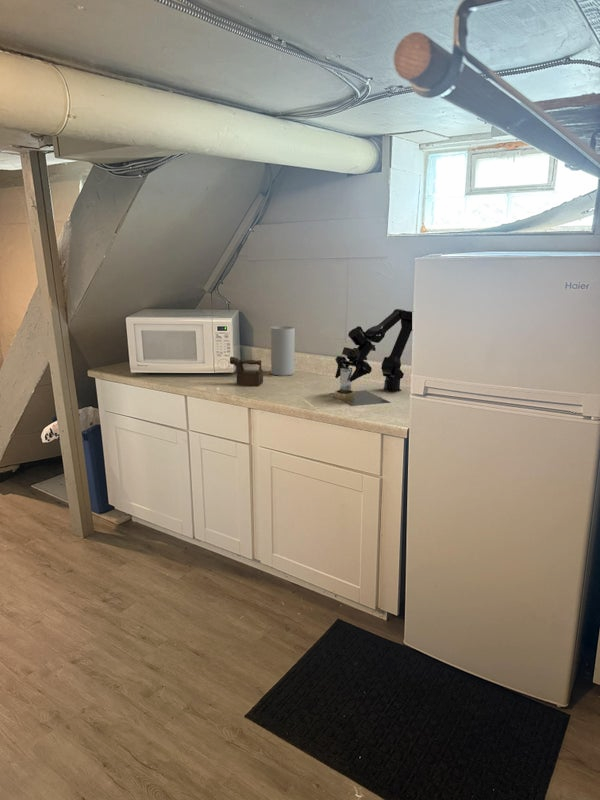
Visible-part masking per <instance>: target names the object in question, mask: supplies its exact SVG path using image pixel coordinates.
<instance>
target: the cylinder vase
mask: <svg viewBox="0 0 600 800" xmlns="http://www.w3.org/2000/svg"><path fill="white" fill-rule="evenodd" d="M295 333H296V332H295V327H294V326H287V325H286V326H285V325H284V326H283V325H281V326H280V325H279V326H277V325H276V326H271V327H270V338H271V339H270V347H271V348H270V372H271V373H270V374H272V375H273V376H276V375H278V376H279V377H288V375H289V376H292V375H294V374H295V343H296V341H295V340H296V339H295V335H296V334H295Z"/></svg>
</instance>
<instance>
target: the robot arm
mask: <svg viewBox="0 0 600 800" xmlns="http://www.w3.org/2000/svg"><path fill="white" fill-rule="evenodd" d="M399 322H400V330H399V333H398V335H397V337H396V340H395V343H394V344H393V348H392V350H391V352H390V355H389V356H384V358H383V361H382V362H381V367H380V369H381V373H382V376H383V377H385V378H384V383H383V385H384V387H383V389H384V390H385V391H388V392H399V391H402V389H401V386H400V385H401V379H403V378H404V375H405V373H404V372H403V370H401V366H402V362H401V358H402V355H403V352H404V350H405V348H406V345H407V343H408V340H409V338H410V336H411V333H412V331H413V330H412V310H411V311H410V310H404V309H401V308H400V309H399V308H396V309H394V310H393V311H392V313H390V314H389V315H388V316H386V317H385V319H383V320H382V321H381V322H379V323H378V324H377V325H373V326H371V327H369V328H368V329H367V330H366V331H364V330H363V327H362V326H360V325H357V326H356V327H355V328H353V329H351V330H349V332H348V336H347V337H349V339H350V340H351V341H352V342H353V344H354V345H355V346H357V347H353V348H351V347H350V348H349V347H346V346H344V347H343V350H342V352H341V355H337V356H336V357H335V359H334V360H335V362H336V364H337V368H336V373H335V379H338V378H340V374H341V367H349V368H350V367H354V368H355V370H354V372H352V376H351V378H350V380H349V381H350V382H351V383H352V382H354V381H355V380H357V379H360V377H363V376H365V375H370V374H371V372H372V371H373V370H372V369H373V368H372V367H371V365H370V364H369V362H368V361H367V360H368V355H369V354H370V353H371V351H374V352H376V350H377V349H376V345H375V344H377V343H378V344H379V343H380V342H381V341H382V340H383V339H384V338H385V336H386V333H387V332H388V331H389V330H390V329H391V328H393V326H395V325H397V323H399ZM373 343H375V344H373ZM342 355H344V356H342ZM345 356H346V357H345Z"/></svg>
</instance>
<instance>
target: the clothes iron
mask: <svg viewBox="0 0 600 800" xmlns="http://www.w3.org/2000/svg"><path fill="white" fill-rule="evenodd" d="M262 362H263V361H262V359H261V360H259V359H258V360H256V359H245V358H242V359H239V358H237V357H234V356H230V357H229V364H230V365H234V366H235V368H236V384H237V385H241V386H247V387H248V386H249V387H260V386H261V385H262V384H263V383H264V369H263V368H262ZM244 364H245V365H246V364H247V365H258V366H259V367H258V370H252V369H251V370H248V369H245V367H244Z"/></svg>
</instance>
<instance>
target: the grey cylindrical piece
mask: <svg viewBox="0 0 600 800" xmlns="http://www.w3.org/2000/svg"><path fill="white" fill-rule="evenodd" d="M352 375H353V367H350V366H349V367H341V374H340V376H339V378H340V379H339V390H340V392H339V393H344V394H348V393H351V390H352V382H350V381H349V380H350V378H351V376H352Z"/></svg>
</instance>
